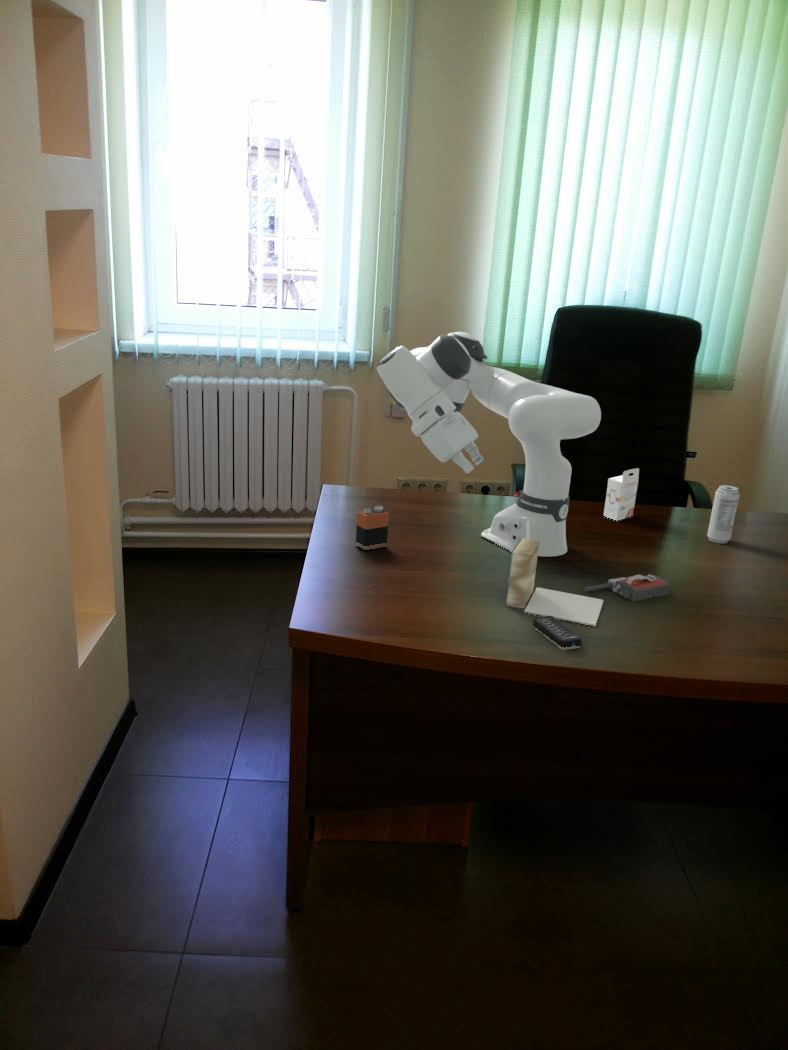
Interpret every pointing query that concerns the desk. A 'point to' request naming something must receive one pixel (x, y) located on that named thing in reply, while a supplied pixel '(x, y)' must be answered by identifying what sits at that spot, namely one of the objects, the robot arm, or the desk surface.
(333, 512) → the desk surface
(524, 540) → the beige rectangular block
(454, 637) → the desk surface
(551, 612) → the mat
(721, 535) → the energy drink can
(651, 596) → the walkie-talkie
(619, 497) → the ink cartridge box
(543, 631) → the multiport hub
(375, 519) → the battery
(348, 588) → the desk surface
